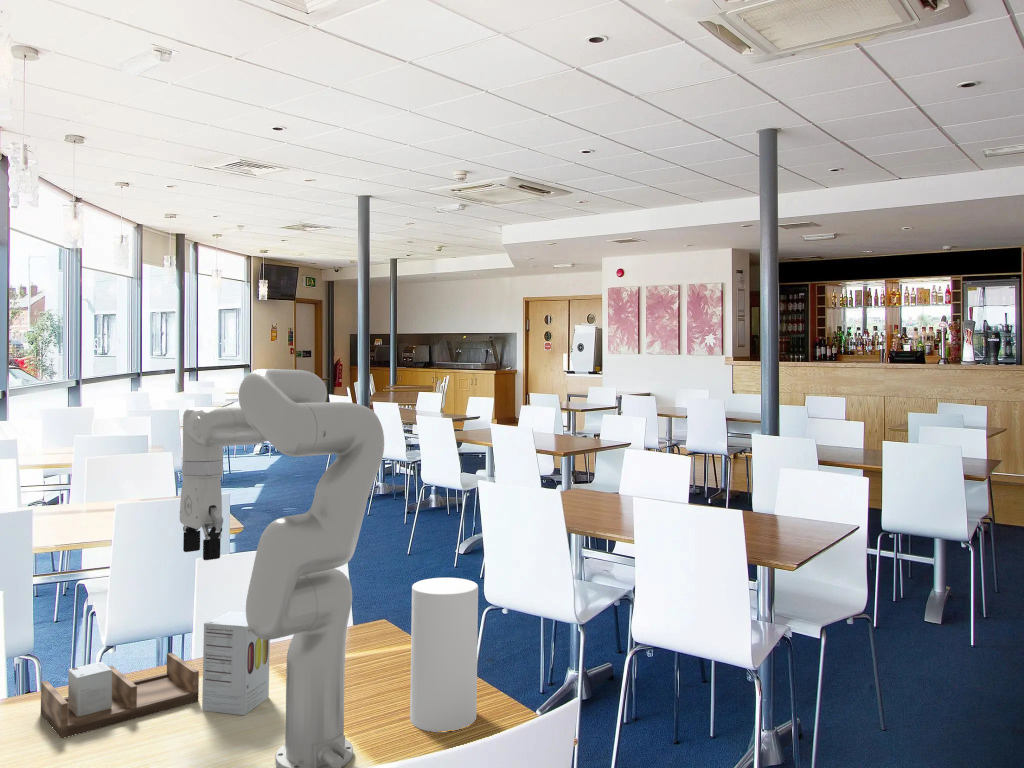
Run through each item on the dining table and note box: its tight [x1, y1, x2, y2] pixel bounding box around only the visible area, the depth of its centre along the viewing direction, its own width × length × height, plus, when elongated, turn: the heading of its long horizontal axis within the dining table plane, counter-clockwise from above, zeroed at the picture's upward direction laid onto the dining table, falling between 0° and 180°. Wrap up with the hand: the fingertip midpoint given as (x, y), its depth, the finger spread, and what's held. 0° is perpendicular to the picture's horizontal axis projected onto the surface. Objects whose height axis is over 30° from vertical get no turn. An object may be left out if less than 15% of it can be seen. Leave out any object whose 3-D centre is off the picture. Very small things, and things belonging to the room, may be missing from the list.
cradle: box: [40, 652, 200, 739], centre depth 149 cm, size 14×24×6 cm, turn 134°
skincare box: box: [67, 661, 112, 717], centre depth 145 cm, size 6×6×7 cm
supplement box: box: [201, 610, 271, 716], centre depth 151 cm, size 10×9×17 cm
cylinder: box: [409, 577, 479, 733], centre depth 146 cm, size 12×12×25 cm
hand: (201, 555), depth 154 cm, fingers open, 9 cm apart
